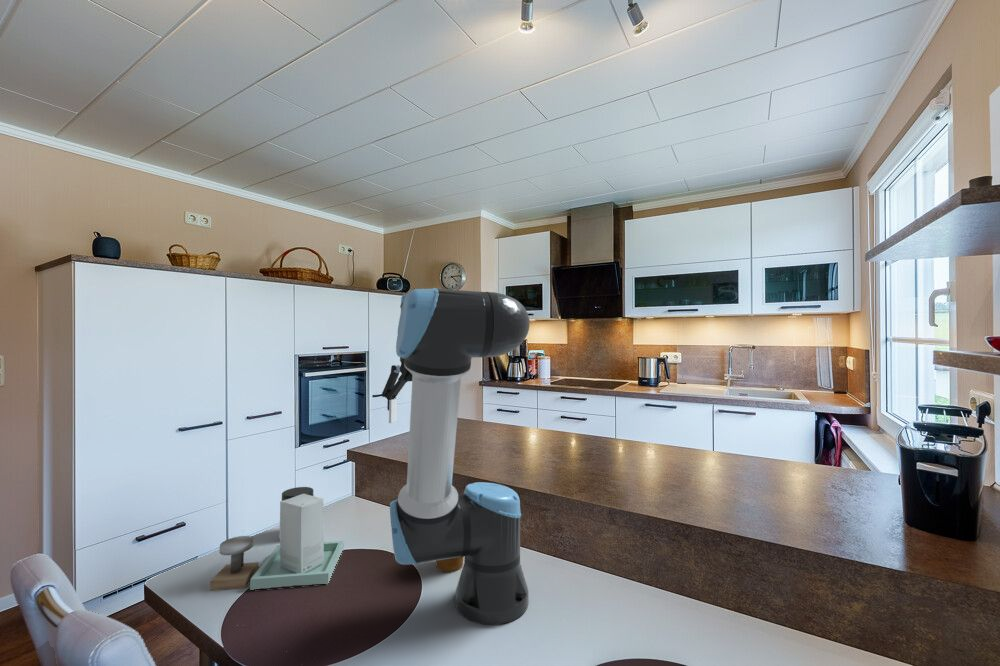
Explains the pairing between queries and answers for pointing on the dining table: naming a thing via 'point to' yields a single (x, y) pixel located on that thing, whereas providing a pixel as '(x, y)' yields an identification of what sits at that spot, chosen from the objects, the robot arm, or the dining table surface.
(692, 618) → the dining table surface
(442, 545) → the robot arm
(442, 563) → the disposable coffee cup
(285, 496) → the jar
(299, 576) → the tray
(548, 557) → the dining table surface
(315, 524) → the skincare box
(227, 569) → the mushroom shaped stand
